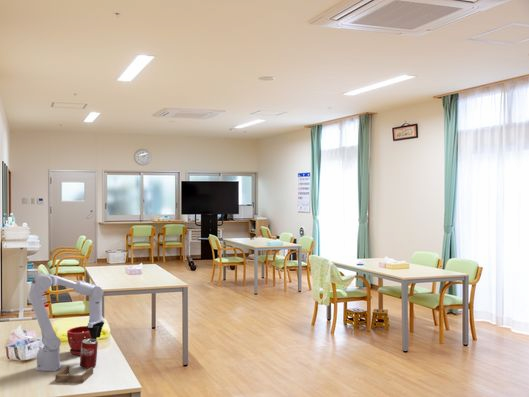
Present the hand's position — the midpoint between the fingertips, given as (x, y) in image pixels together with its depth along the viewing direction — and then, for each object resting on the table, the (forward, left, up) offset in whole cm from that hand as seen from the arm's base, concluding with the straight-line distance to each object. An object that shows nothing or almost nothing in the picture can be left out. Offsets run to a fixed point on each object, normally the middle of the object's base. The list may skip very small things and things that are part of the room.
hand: (95, 338), depth 266 cm
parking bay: (0, -24, -10) cm, 26 cm away
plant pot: (-12, +11, -11) cm, 19 cm away
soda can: (0, -10, -10) cm, 14 cm away
